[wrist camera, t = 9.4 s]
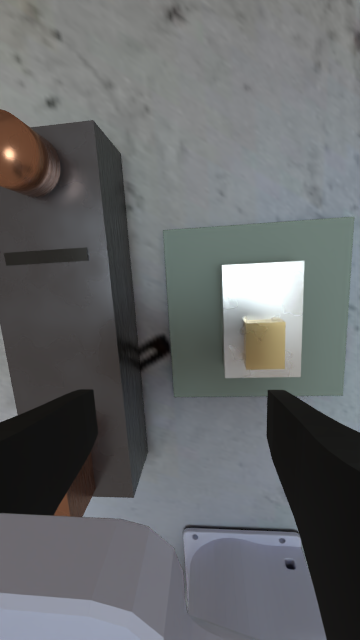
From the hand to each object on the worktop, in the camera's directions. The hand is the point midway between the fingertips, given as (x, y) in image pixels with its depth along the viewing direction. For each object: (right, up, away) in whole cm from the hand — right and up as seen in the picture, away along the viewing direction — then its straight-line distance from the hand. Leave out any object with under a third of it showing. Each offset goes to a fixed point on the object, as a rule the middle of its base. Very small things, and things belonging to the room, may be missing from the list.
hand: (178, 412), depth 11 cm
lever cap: (+5, +4, +8) cm, 10 cm away
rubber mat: (+5, +4, +8) cm, 11 cm away
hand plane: (-7, +4, +9) cm, 12 cm away
